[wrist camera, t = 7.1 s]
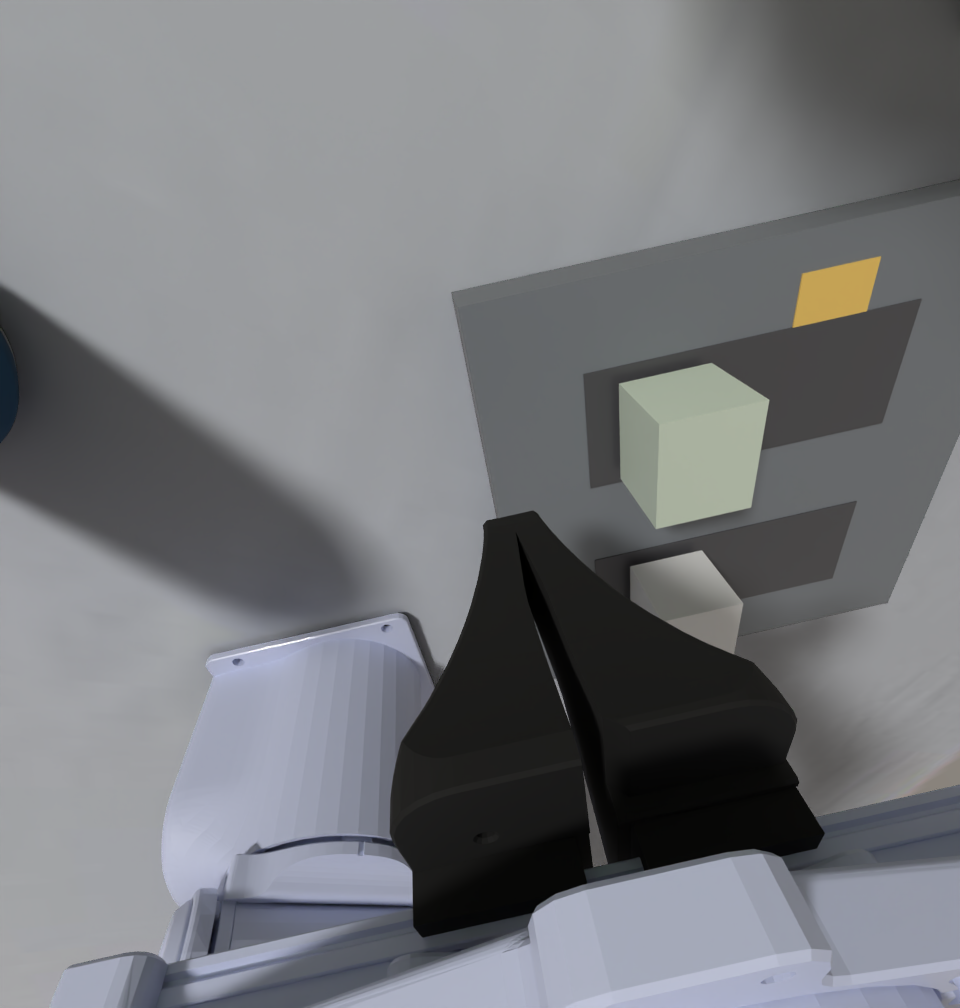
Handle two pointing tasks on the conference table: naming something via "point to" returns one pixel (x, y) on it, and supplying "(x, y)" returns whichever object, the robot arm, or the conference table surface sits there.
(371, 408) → the conference table surface
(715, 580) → the light grey block
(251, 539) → the conference table surface
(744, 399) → the tab sage
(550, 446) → the switch panel
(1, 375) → the soda can
